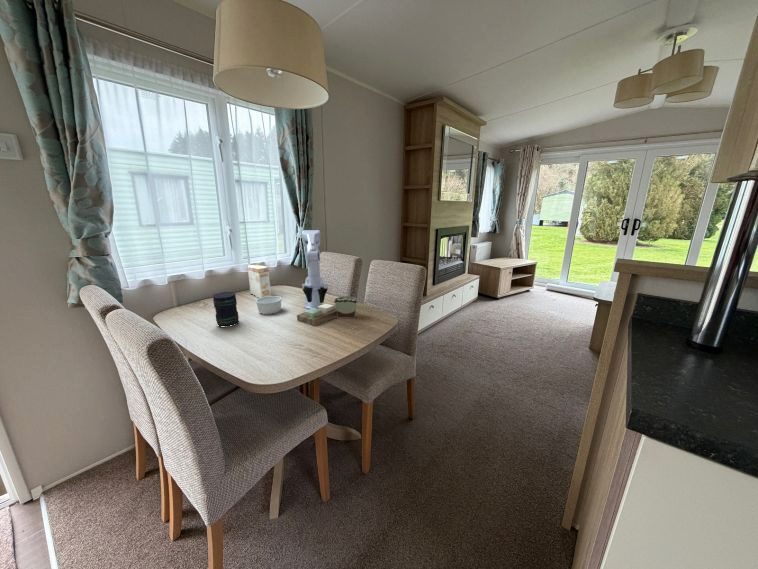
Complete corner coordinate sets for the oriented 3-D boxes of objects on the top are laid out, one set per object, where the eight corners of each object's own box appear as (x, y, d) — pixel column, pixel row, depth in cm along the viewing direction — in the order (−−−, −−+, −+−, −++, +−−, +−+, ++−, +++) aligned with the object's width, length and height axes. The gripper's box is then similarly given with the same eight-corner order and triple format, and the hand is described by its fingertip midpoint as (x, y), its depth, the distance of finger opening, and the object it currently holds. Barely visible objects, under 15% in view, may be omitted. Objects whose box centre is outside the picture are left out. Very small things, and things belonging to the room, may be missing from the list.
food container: (359, 314, 157) (359, 296, 154) (357, 318, 151) (357, 299, 148) (337, 313, 158) (336, 295, 156) (334, 317, 152) (333, 299, 150)
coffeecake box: (271, 296, 188) (268, 266, 184) (261, 299, 183) (257, 268, 178) (260, 292, 198) (257, 264, 193) (250, 294, 193) (246, 265, 188)
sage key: (304, 315, 147) (304, 311, 147) (313, 312, 152) (313, 308, 151) (313, 318, 144) (312, 313, 143) (321, 314, 149) (321, 310, 148)
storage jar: (234, 318, 151) (231, 290, 147) (242, 323, 144) (239, 294, 140) (213, 323, 144) (209, 294, 140) (221, 329, 137) (216, 298, 133)
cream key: (318, 310, 154) (317, 306, 154) (326, 307, 159) (325, 303, 158) (326, 313, 151) (325, 308, 150) (334, 310, 156) (334, 305, 155)
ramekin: (277, 315, 155) (276, 303, 153) (252, 315, 155) (251, 302, 154) (285, 307, 168) (284, 295, 166) (263, 307, 168) (261, 295, 166)
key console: (297, 320, 148) (296, 315, 147) (325, 309, 163) (325, 304, 163) (313, 326, 141) (313, 320, 140) (341, 314, 157) (341, 308, 156)
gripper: (297, 275, 144) (299, 303, 146) (320, 276, 138) (322, 304, 139) (306, 274, 151) (308, 300, 152) (329, 274, 144) (331, 301, 146)
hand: (315, 302), depth 146 cm, fingers open, 7 cm apart
